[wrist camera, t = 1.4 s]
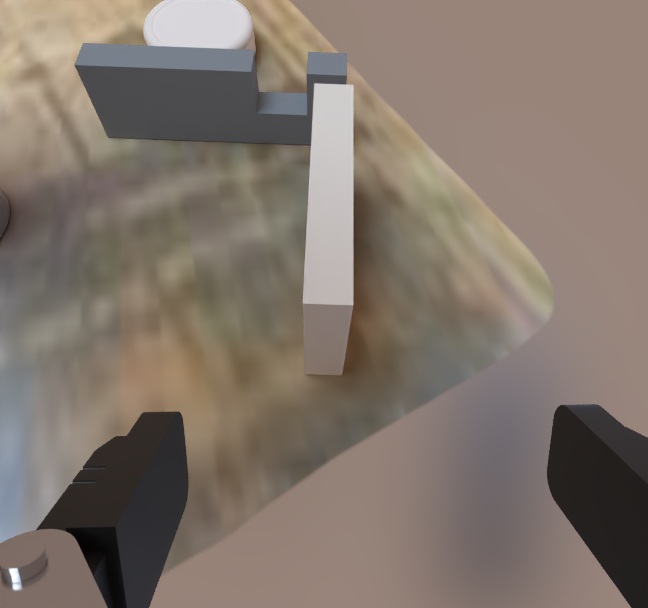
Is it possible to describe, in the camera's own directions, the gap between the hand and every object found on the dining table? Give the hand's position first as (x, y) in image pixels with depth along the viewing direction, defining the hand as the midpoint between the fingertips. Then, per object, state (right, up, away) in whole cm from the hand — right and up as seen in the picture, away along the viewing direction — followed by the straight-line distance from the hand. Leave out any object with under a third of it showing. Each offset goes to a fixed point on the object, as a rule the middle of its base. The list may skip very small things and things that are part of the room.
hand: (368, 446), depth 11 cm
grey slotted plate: (-9, +18, +33) cm, 39 cm away
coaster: (-13, +27, +38) cm, 49 cm away
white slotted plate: (-1, +5, +27) cm, 27 cm away
